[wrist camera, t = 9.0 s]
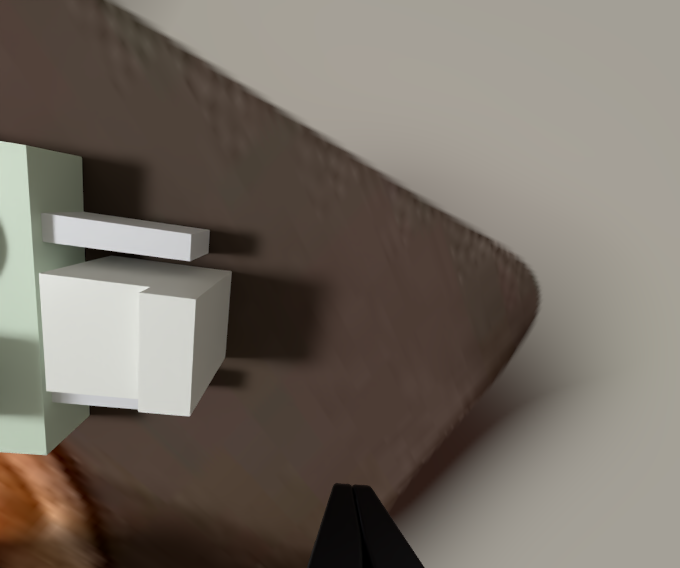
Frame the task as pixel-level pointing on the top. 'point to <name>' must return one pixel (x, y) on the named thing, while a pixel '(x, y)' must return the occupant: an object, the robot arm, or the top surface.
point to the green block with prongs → (48, 254)
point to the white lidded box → (135, 330)
